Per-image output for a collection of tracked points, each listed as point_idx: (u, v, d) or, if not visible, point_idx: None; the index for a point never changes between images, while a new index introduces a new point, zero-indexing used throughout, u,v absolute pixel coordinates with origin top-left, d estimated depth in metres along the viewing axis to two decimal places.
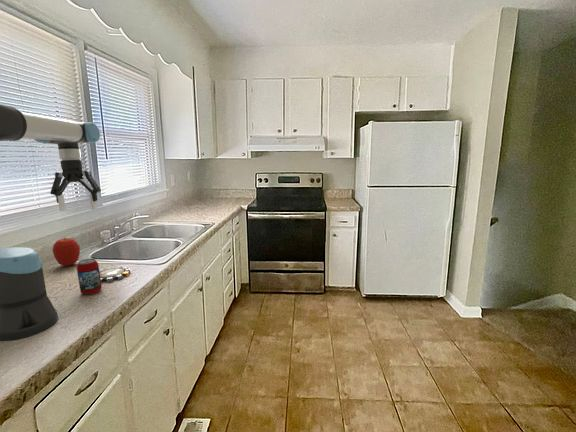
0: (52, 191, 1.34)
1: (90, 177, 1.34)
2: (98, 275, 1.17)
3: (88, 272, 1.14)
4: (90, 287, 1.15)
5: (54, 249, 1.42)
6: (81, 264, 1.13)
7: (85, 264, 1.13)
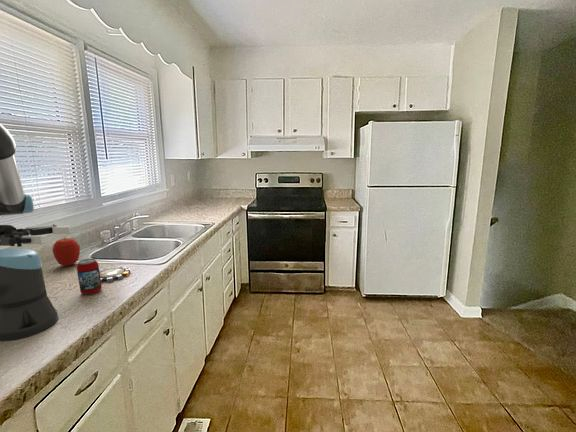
0: (10, 238, 1.05)
1: None
2: (98, 275, 1.17)
3: (88, 272, 1.14)
4: (90, 287, 1.15)
5: (54, 249, 1.42)
6: (81, 264, 1.13)
7: (85, 264, 1.13)
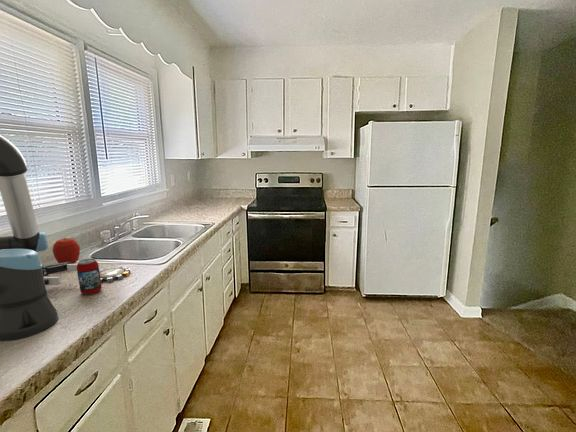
0: None
1: None
2: (98, 275, 1.17)
3: (88, 272, 1.14)
4: (90, 287, 1.15)
5: (54, 249, 1.42)
6: (81, 264, 1.13)
7: (85, 264, 1.13)
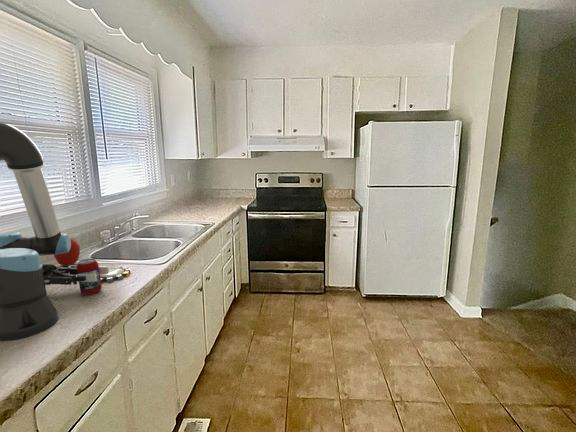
0: (66, 277, 1.10)
1: None
2: (98, 275, 1.17)
3: (88, 272, 1.14)
4: (90, 287, 1.15)
5: None
6: (81, 264, 1.13)
7: (85, 264, 1.13)
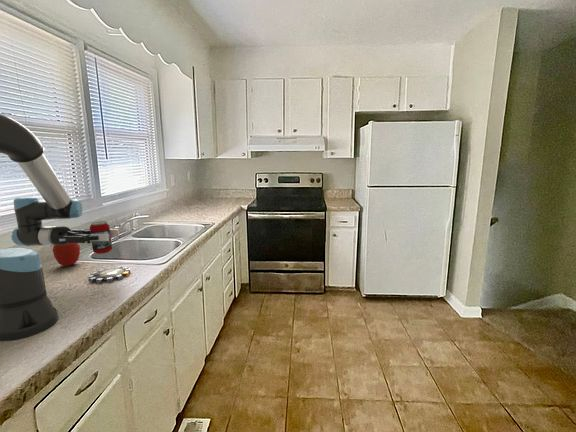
0: (81, 236, 1.20)
1: None
2: (109, 236, 1.27)
3: (100, 232, 1.23)
4: (102, 246, 1.24)
5: (54, 249, 1.42)
6: (94, 225, 1.23)
7: (97, 225, 1.23)
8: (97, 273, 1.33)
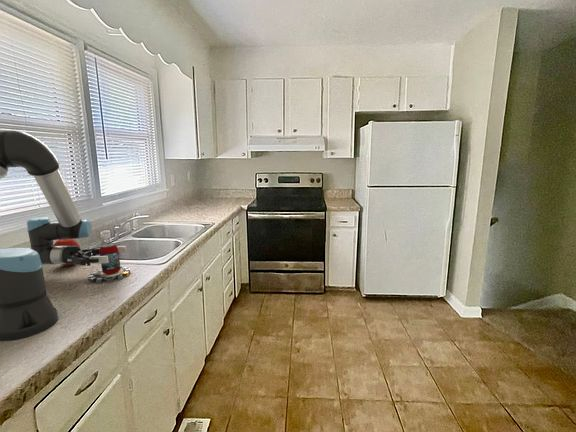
0: (82, 258, 1.22)
1: None
2: (118, 257, 1.32)
3: (109, 254, 1.28)
4: (111, 267, 1.29)
5: None
6: (103, 247, 1.28)
7: (107, 247, 1.28)
8: (97, 273, 1.33)
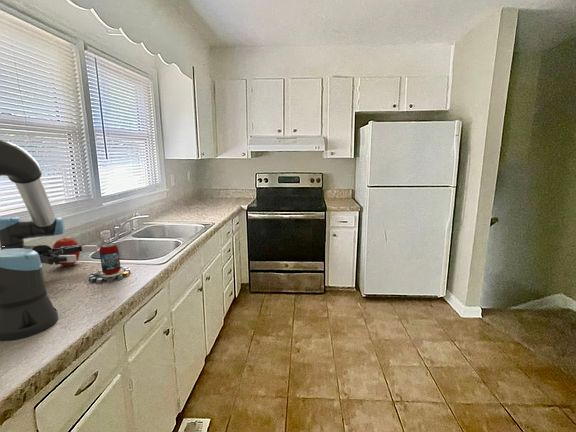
0: (49, 257, 1.23)
1: None
2: (118, 257, 1.32)
3: (109, 254, 1.28)
4: (111, 267, 1.29)
5: None
6: (103, 247, 1.28)
7: (107, 247, 1.28)
8: (97, 273, 1.33)
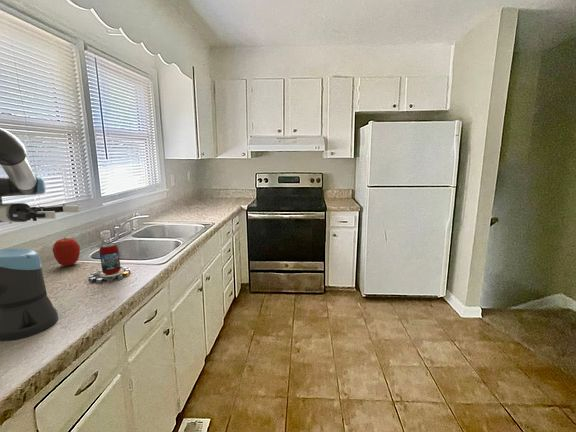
0: (27, 213, 1.18)
1: None
2: (118, 257, 1.32)
3: (109, 254, 1.28)
4: (111, 267, 1.29)
5: (54, 249, 1.42)
6: (103, 247, 1.28)
7: (107, 247, 1.28)
8: (97, 273, 1.33)
